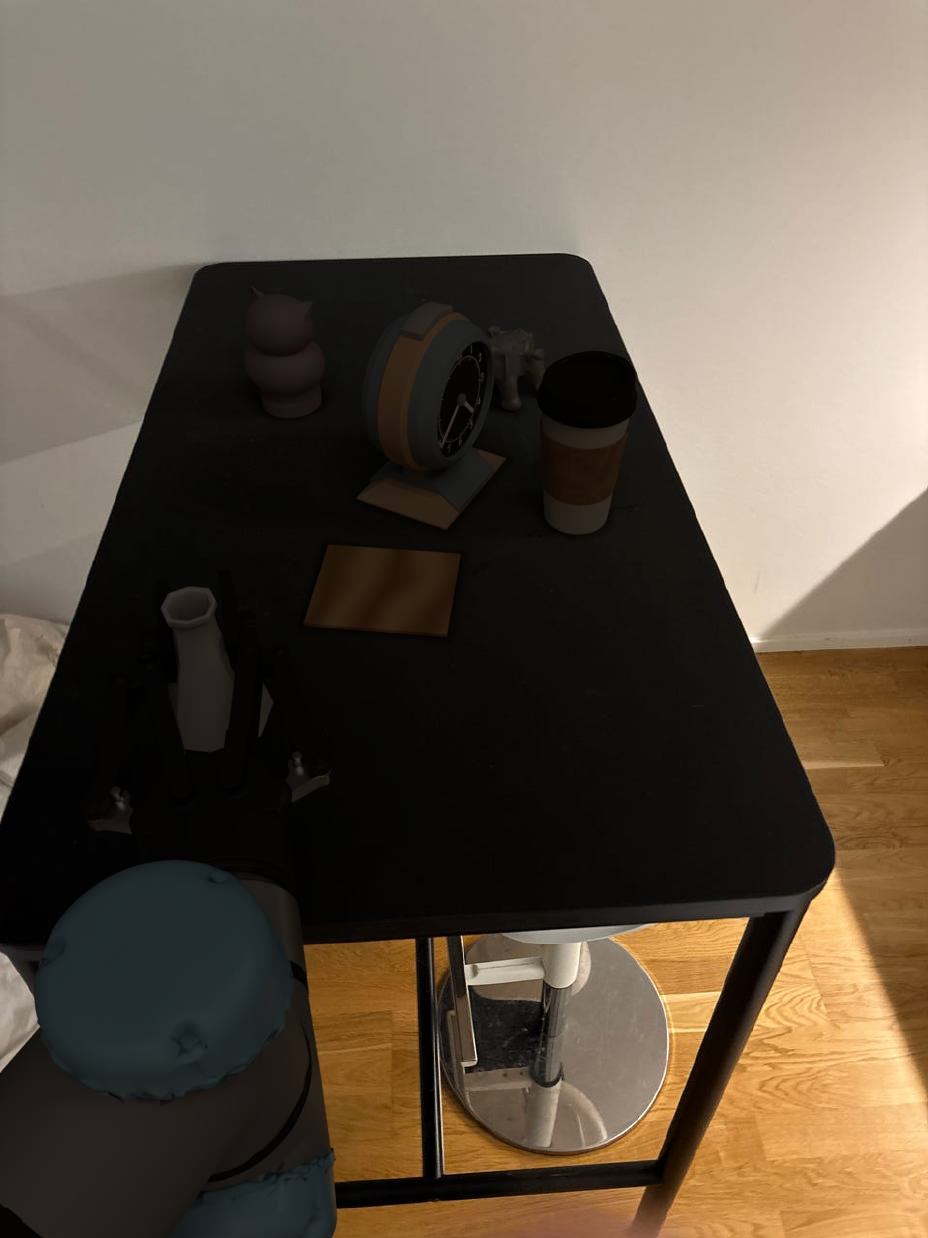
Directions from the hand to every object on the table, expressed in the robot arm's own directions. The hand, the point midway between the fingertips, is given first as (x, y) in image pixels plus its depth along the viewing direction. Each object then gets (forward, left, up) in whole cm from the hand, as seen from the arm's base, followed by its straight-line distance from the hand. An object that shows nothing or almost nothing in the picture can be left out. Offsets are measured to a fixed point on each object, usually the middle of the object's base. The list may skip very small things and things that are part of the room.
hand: (197, 591), depth 64 cm
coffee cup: (+25, +28, -14) cm, 40 cm away
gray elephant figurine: (+16, +46, -14) cm, 51 cm away
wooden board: (+9, +16, -14) cm, 23 cm away
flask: (+2, -5, -6) cm, 8 cm away
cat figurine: (-6, +44, -14) cm, 47 cm away
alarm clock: (+11, +32, -14) cm, 37 cm away
